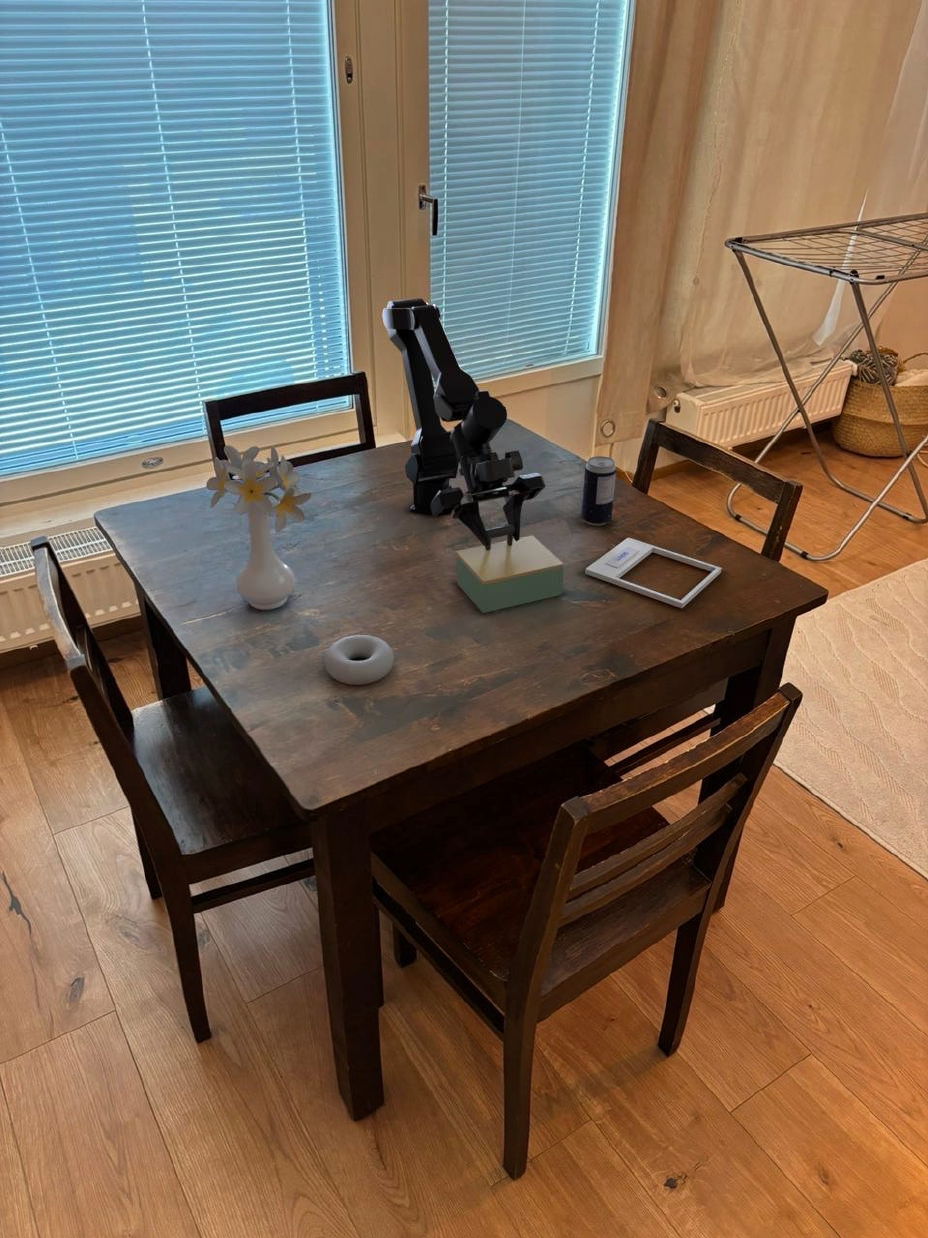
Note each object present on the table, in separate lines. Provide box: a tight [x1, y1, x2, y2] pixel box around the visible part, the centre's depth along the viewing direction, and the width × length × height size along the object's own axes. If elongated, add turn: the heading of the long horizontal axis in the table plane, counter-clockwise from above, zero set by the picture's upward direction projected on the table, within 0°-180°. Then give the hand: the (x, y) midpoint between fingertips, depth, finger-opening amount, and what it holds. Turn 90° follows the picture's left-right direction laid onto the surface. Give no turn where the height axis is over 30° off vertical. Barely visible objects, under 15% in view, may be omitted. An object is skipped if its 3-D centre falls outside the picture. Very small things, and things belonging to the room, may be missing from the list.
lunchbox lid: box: [455, 524, 565, 585], centre depth 148 cm, size 11×14×4 cm
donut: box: [323, 634, 395, 686], centre depth 132 cm, size 10×4×10 cm
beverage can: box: [580, 455, 617, 527], centre depth 170 cm, size 6×6×12 cm
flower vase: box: [205, 445, 312, 611], centre depth 141 cm, size 13×18×25 cm
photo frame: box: [584, 537, 723, 609], centre depth 156 cm, size 15×1×18 cm
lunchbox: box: [456, 555, 564, 614], centre depth 150 cm, size 10×14×5 cm
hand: (502, 543), depth 150 cm, fingers open, 5 cm apart
